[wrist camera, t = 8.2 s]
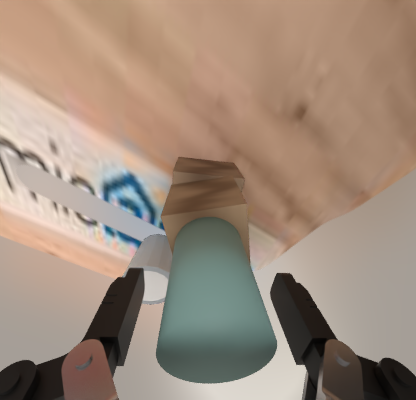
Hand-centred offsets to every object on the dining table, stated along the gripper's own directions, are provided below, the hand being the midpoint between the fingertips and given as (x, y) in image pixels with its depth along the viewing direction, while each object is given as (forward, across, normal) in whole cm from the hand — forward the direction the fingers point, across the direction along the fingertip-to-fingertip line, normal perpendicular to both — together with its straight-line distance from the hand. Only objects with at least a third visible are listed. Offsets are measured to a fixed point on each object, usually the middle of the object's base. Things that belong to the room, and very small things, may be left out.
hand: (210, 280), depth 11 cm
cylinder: (+3, 0, 0) cm, 3 cm away
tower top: (+9, 0, 0) cm, 9 cm away
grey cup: (+15, +6, +11) cm, 20 cm away
